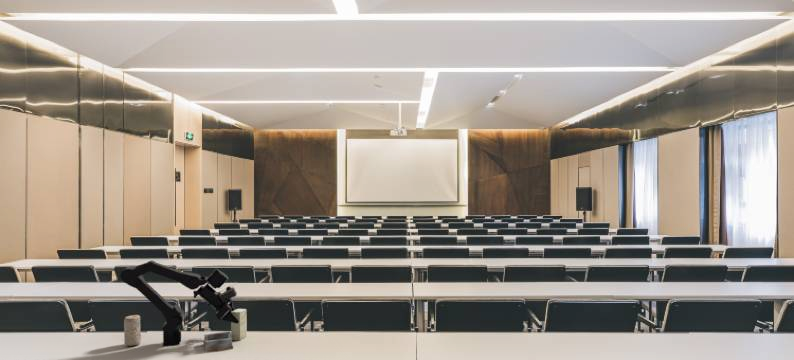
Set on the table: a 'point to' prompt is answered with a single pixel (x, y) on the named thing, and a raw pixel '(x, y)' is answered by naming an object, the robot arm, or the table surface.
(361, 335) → the table surface
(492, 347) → the table surface
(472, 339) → the table surface
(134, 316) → the carving
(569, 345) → the table surface
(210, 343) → the socket
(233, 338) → the skincare box
